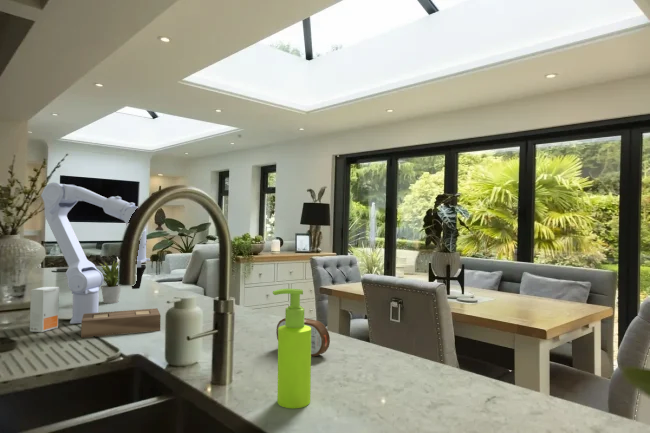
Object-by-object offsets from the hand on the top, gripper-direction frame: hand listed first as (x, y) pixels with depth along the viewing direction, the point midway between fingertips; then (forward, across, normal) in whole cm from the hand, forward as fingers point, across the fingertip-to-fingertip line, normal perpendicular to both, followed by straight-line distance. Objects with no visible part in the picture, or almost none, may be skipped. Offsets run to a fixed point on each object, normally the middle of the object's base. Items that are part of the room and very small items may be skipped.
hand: (135, 288), depth 137 cm
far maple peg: (+10, -9, -2) cm, 13 cm away
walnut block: (+10, -9, +4) cm, 14 cm away
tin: (+11, -50, -35) cm, 62 cm away
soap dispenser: (+11, -76, -22) cm, 80 cm away
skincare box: (+11, 0, +24) cm, 26 cm away
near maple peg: (+10, -9, +9) cm, 16 cm away
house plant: (+11, +40, +7) cm, 42 cm away
